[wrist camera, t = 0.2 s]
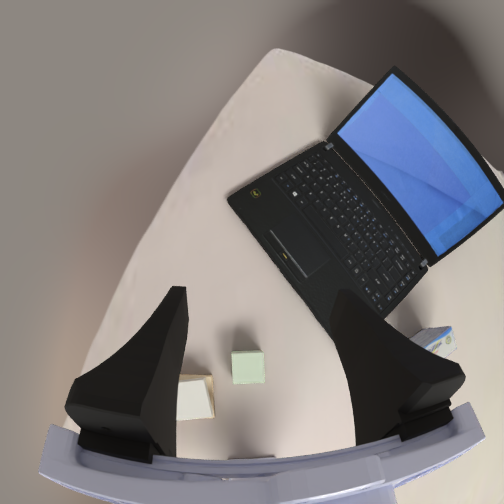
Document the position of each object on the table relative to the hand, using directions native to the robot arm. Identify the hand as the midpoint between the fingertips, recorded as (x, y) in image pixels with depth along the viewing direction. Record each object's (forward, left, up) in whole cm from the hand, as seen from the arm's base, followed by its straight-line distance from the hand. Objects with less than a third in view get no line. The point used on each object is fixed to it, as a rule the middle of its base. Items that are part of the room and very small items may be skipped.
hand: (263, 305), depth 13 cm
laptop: (+17, -22, -32) cm, 42 cm away
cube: (-7, 0, -31) cm, 32 cm away
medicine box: (-8, -30, -31) cm, 44 cm away
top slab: (-12, +9, -30) cm, 33 cm away
